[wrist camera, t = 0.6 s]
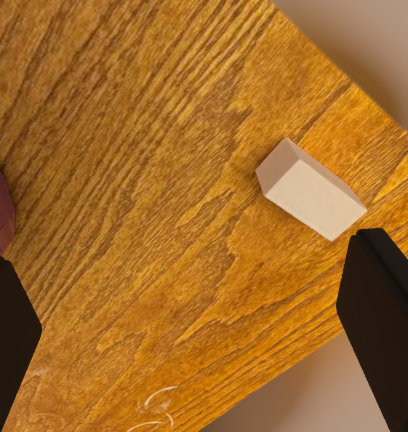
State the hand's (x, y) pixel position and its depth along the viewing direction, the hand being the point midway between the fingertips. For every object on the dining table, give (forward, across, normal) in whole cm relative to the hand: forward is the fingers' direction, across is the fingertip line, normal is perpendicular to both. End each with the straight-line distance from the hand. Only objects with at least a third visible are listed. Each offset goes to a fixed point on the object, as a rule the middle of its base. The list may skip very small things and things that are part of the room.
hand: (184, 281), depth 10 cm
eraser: (+14, -8, +4) cm, 17 cm away
